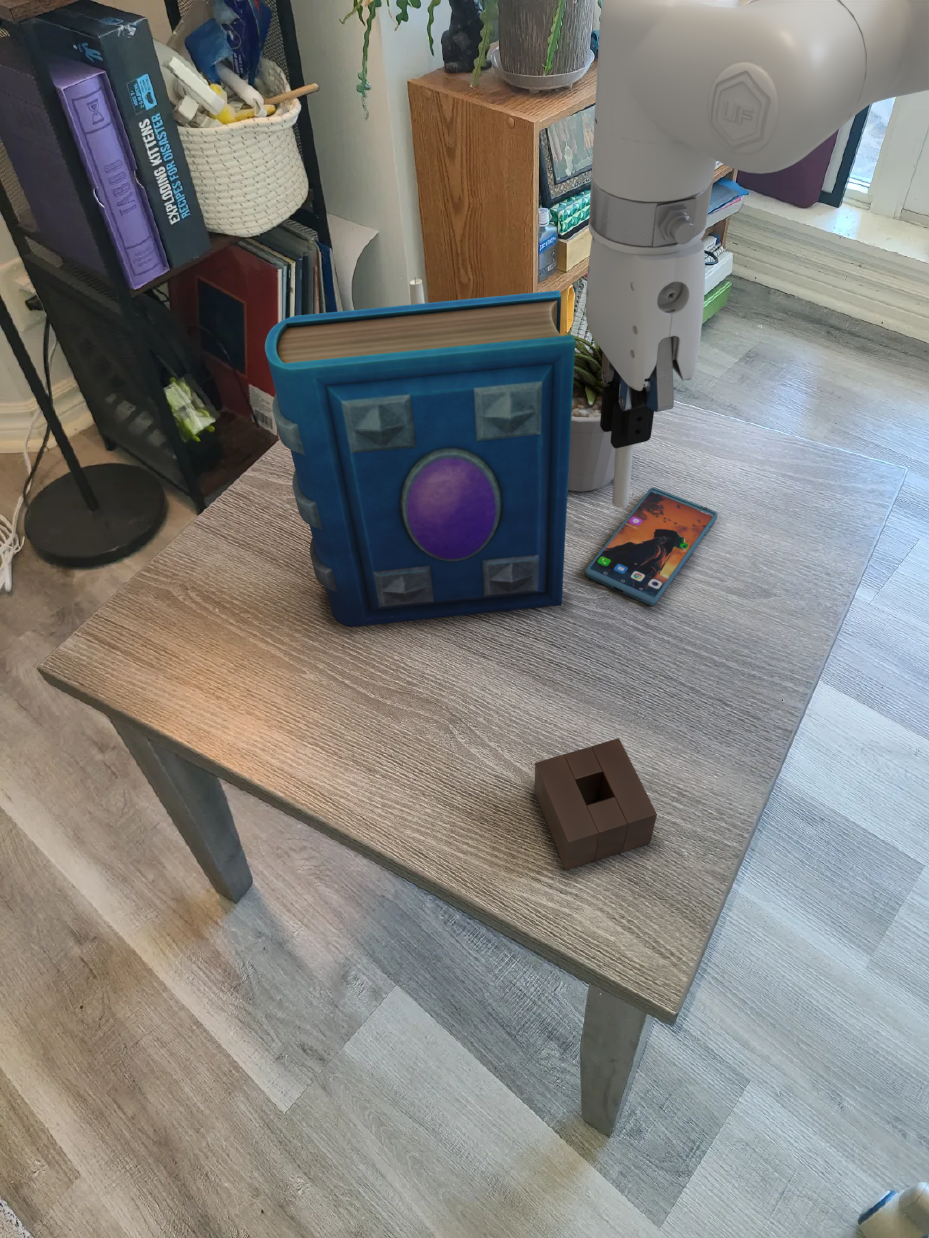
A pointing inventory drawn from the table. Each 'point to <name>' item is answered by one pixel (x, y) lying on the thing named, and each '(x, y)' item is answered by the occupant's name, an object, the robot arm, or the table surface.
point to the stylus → (622, 474)
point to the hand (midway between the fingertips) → (624, 433)
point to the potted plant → (588, 422)
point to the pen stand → (600, 825)
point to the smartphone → (651, 545)
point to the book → (430, 453)
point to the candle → (416, 292)
